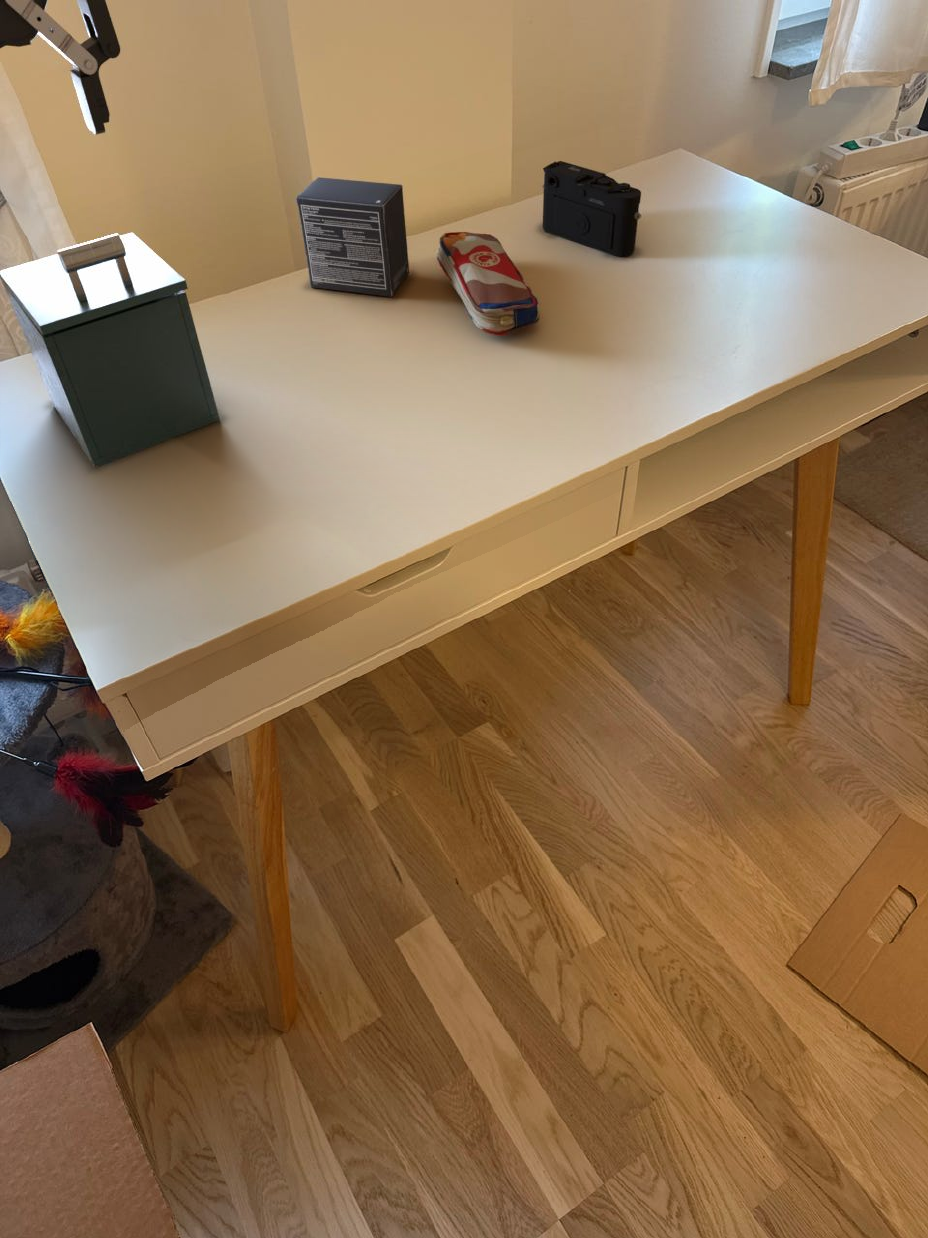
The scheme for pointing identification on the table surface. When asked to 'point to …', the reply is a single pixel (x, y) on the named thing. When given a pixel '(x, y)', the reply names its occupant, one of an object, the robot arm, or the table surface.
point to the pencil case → (487, 282)
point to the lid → (90, 281)
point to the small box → (354, 235)
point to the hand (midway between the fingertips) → (36, 145)
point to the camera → (590, 208)
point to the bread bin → (125, 376)
